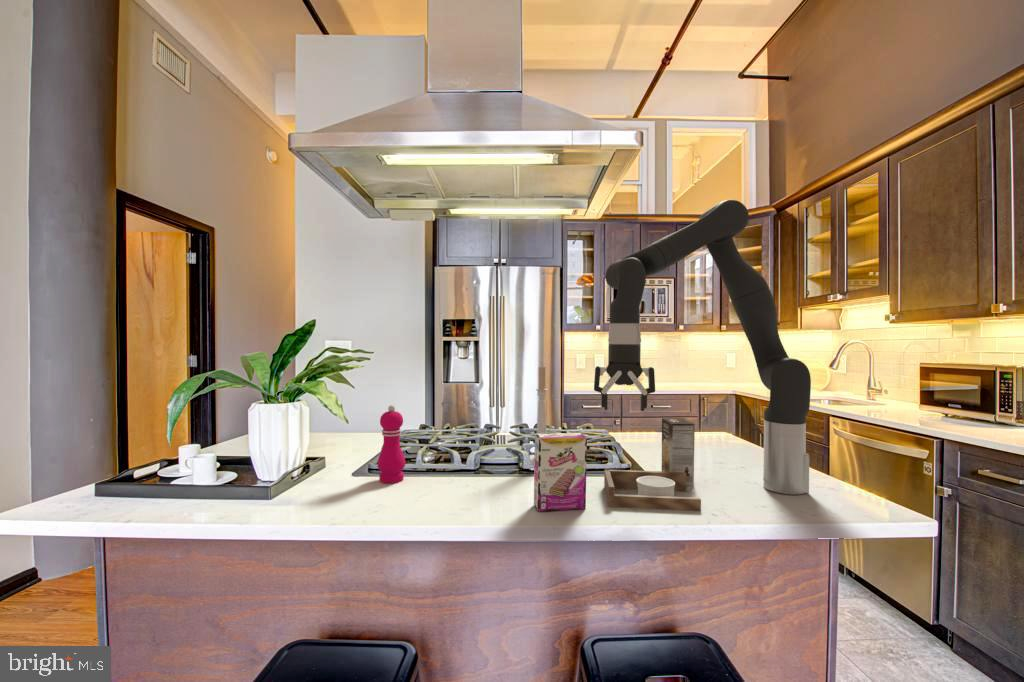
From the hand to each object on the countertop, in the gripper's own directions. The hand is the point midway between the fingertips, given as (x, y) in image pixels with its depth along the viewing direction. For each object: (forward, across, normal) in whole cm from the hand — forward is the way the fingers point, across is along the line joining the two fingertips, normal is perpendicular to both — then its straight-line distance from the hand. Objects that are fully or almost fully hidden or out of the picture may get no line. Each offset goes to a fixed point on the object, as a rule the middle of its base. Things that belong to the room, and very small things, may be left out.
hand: (623, 410), depth 116 cm
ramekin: (+21, -8, 0) cm, 22 cm away
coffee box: (+21, -15, -16) cm, 31 cm away
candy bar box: (+21, +14, +10) cm, 28 cm away
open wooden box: (+21, -6, 0) cm, 22 cm away
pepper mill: (+21, +60, -2) cm, 64 cm away
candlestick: (+21, +22, -23) cm, 39 cm away
